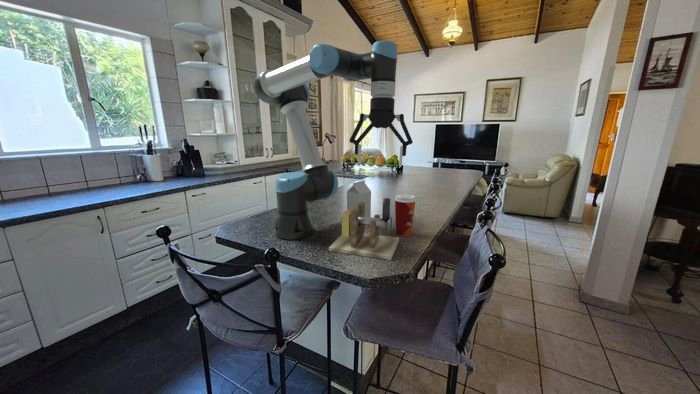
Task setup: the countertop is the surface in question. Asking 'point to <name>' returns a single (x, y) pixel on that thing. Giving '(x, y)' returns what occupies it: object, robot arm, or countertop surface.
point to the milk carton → (359, 197)
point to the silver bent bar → (380, 222)
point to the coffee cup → (404, 213)
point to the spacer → (346, 223)
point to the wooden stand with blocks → (365, 239)
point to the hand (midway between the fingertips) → (379, 165)
